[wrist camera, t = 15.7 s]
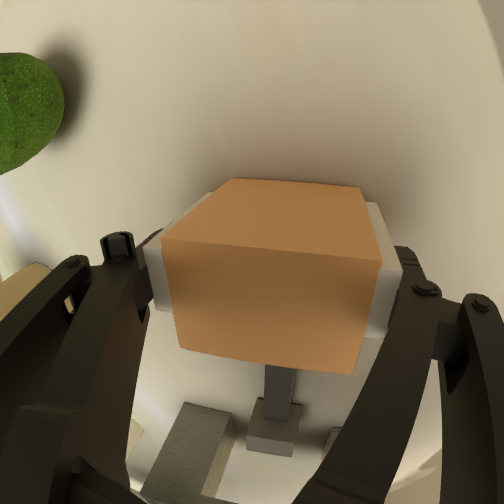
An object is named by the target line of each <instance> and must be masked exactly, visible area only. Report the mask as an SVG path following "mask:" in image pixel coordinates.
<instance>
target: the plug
mask: <svg viewBox="0 0 504 504" xmlns="http://www.w3.org/2000/svg"><path fill="white" fill-rule="evenodd" d="M160 239H161V246H162V253H163V259H164V265H165V271H166V277H167V283H168V288H169V293H170V298H171V303H172V308H173V316H174V321H175V326H176V330H177V335H178V340H179V345H180V348H183V349H188V350H192V351H197V352H201V353H206V354H211V355H216V356H221V357H226V358H232V359H237V360H243V361H249V362H255V363H261V364H265V388H264V400H262V399H257V400H256V404H255V407H254V410H253V414H252V417H251V420H250V424H249V427H248V430H247V433H246V446H247V450H250V451H255V452H261V453H267V454H273V455H279V456H286V457H292V453H293V449H294V445H295V440H296V435H297V430H298V424H299V419H300V413H301V407H302V405H296V404H291V398H292V391H293V384H294V377H295V370H296V369H303V370H312V371H321V372H330V373H341V374H352V373H353V370H354V367H355V364H356V361H357V358H358V354H359V351H360V348H361V344H362V341H363V338H364V333H365V330H366V326H367V322H368V318H369V313H370V309H371V305H372V301H373V296H374V292H375V287H376V282H377V277H378V272H379V268H380V269H381V266H382V257H381V253H380V250H379V246H378V243H377V239H376V236H375V232H374V229H373V226H372V223H371V219H370V216H369V213H368V210H367V207H366V204H365V201H364V198H363V195H362V192H361V189H360V188H358V187H349V186H339V185H329V184H318V183H306V182H293V181H278V180H262V179H243V178H230V179H229V180H228V181H227V182H226V183H224V184H223V185H222V186H221V187H219V188H218V189H217V190H216V191H215V192H213V193H212V194H211V195H210V196H209V197H207V198H206V199H205V200H204V201H203V202H201V203H200V204H199V205H198V206H197V207H195V208H194V209H193V210H192V211H191V212H190V213H188V214H187V215H186V216H185V217H184V218H183V219H182V220H180V221H179V222H178V223H177V224H176V225H175V226H174V227H172V228H171V229H170V230H169V231H168V232H167V233H166V234H164V235H163V236H162V237H161V238H160Z"/></svg>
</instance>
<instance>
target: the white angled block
mask: <svg viewBox="0 0 504 504" xmlns="http://www.w3.org/2000/svg"><path fill="white" fill-rule="evenodd" d="M143 430H144V429H143V428H142V427H141V426H140V425H138V424H137V423H136V422H135V421H134V420H132V419H131V421H130V428H129V435H128V443H127V452H126V461H127V459H128V458H129V456H130V454H131V452H132V450H133V448H134V447H135V445H136V443H137V441H138V439H139V437H140V436H141V434H142V432H143Z"/></svg>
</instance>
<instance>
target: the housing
mask: <svg viewBox="0 0 504 504" xmlns="http://www.w3.org/2000/svg"><path fill="white" fill-rule="evenodd" d="M341 429H342V428H338V427H332V429H331V431H330V434H329V437H328V440H327V442H326V445H325V448H324V450H323V454H322V461H323V460H324V458H325V456H326V455H327V453H328V451H329V450H330V448H331V446H332V445H333V443H334V441H335V439H336V438H337V436H338V434H339V432H340V430H341ZM234 441H235V437H234V431H233V424H232V417H231V413H229V412H224V411H219V410H215V409H210V408H206V407H202V406H198V405H194V404H190V403H186V402H184V404H183V406H182V408H181V410H180V412H179V414H178V416H177V418H176V420H175V422H174V424H173V426H172V428H171V430H170V432H169V434H168V436H167V438H166V441H165V443H164V445H163V447H162V449H161V451H160V453H159V455H158V457H157V459H156V461H155V463H154V465H153V467H152V469H151V471H150V473H149V475H148V477H147V479H146V481H145V483H144V485H143V487H142V489H141V491H140V493H139V494H140V495H141V496H142V497H144V498H145V499H146V500H147V501H148V502H149V503H150V504H237V503H233V502H228V501H224V500H220V499H216V498H215V495H216V492H217V489H218V487H219V484H220V481H221V478H222V475H223V473H224V470H225V467H226V464H227V461H228V458H229V455H230V452H231V449H232V447H233V444H234ZM321 463H322V462H321Z"/></svg>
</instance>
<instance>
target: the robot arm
mask: <svg viewBox="0 0 504 504" xmlns="http://www.w3.org/2000/svg"><path fill="white" fill-rule="evenodd" d="M212 193H213V192H208V193H207V194H205V195H204V196H203V197H202V198H200V199H199V200H198V201H197V202H195V203H194V204H193V205H192V206H190V207H189V208H188V209H187V210H186V211H184V212H183V213H182V214H181V215H180V216H178V217H177V218H176V219H175V220H174V221H172V222H171V223H170V224H169V225H168V226H166V227H165V228H162V229H160V230H158V231H156V232H154V233H152V234H151V235H150V236H149V237H148V238H147V239H145V240H144V241H143V243H141V244H139V245H138V246H137V247H136V248H135V244H134V239H133V234H132V233H130V232H126V231H125V232H115V233H112V234H109V235H106V236H105V237H103V238H102V239H101V240H100V244H101V248H102V252H103V256H104V262H103V264H102V265H100V266H90V263H89V260H88V257H87V256H84V255H74V256H70V257H69V258H67V259H65V260H64V261H62V262H61V263H60V264H59V265H58V266H57V267H56V268H54V269H53V270H52V271H51V272H50V273H49V274H48V275H47V276H46V277H45V278H44V279H43V280H41V281H40V282H39V283H38V284H37V285H36V286H35V287H34V288H33V289H32V290H31V291H30V292H29V293H28V294H27V295H26V296H25V297H24V298H23V299H22V300H21V301H20V302H19V303H18V304H17V305H16V306H15V307H14V308H13V309H12V310H11V311H10V312H9V313H8V314H7V315H6V316H5V317H4V318H3V319H2V320H1V321H0V504H147V503H145V502H144V501H142V500H141V499H140V498H138V497H137V496H136V495H134V494H133V493H132V492H130V480H129V476H128V473H127V469H126V452H127V443H128V435H129V428H130V421H131V414H132V407H133V401H134V395H135V388H136V383H137V377H138V371H139V366H140V360H141V355H142V350H143V345H144V340H145V335H146V331H147V326H148V321H149V317H150V309H149V306H148V303H149V302H150V301H151V300H152V299H154V303H155V307H156V310H160V311H165V312H170V313H173V308H172V303H171V298H170V293H169V288H168V283H167V277H166V271H165V265H164V259H163V253H162V246H161V239H160V238H161V237H162V236H163V235H164V234H166V233H167V232H168V231H169V230H170V229H171V228H172V227H174V226H175V225H176V224H177V223H178V222H179V221H180V220H182V219H183V218H184V217H185V216H186V215H187V214H188V213H190V212H191V211H192V210H193V209H194V208H195V207H197V206H198V205H199V204H200V203H201V202H203V201H204V200H205V199H206V198H207V197H209V196H210V195H211V194H212ZM365 204H366V207H367V210H368V213H369V216H370V219H371V223H372V226H373V229H374V232H375V236H376V239H377V243H378V246H379V250H380V253H381V257H382V266H381V269H380V268H379V272H378V277H377V282H376V287H375V292H374V296H373V301H372V305H371V309H370V313H369V318H368V322H367V326H366V330H365V333H364V337H366V338H381V339H384V341H383V343H382V345H381V348H380V350H379V352H378V355H377V357H376V359H375V362H374V364H373V366H372V368H371V371H370V373H369V375H368V377H367V379H366V382H365V384H364V386H363V388H362V390H361V392H360V394H359V396H358V398H357V400H356V402H355V404H354V406H353V408H352V410H351V412H350V414H349V416H348V418H347V419H346V421H345V423H344V425H343V427H342V429H341V430H340V432H339V434H338V436H337V438H336V439H335V441H334V443H333V445H332V446H331V448H330V450H329V451H328V453H327V455H326V456H325V458H324V460H323V461H322V463H321V465H320V466H319V468H318V469H317V471H316V472H315V474H314V475H313V477H312V478H311V479H310V480H309V481H308V482H307V483H306V484H305V486H304V487H303V488H302V490H301V491H300V493H299V494H298V495H297V497H296V498H295V500H294V501H293V502H292V504H384V501H385V498H386V495H387V493H388V491H389V488H390V486H391V484H392V482H393V479H394V477H395V475H396V472H397V470H398V467H399V465H400V462H401V460H402V457H403V454H404V452H405V449H406V446H407V443H408V441H409V438H410V435H411V432H412V429H413V426H414V422H415V419H416V416H417V413H418V409H419V406H420V402H421V399H422V395H423V391H424V388H425V384H426V380H427V376H428V371H429V367H430V363H431V359H434V360H438V370H439V380H440V392H441V408H442V477H441V492H440V503H439V504H504V323H503V320H502V318H501V315H500V313H499V311H498V308H497V306H496V305H495V304H494V302H493V301H492V300H490V299H489V298H488V297H487V296H485V295H482V294H477V293H470V294H467V295H466V296H465V297H464V299H463V301H462V304H460V303H456V302H453V301H449V300H447V299H444V298H442V292H441V289H440V288H439V287H438V286H437V285H436V284H434V283H433V282H431V281H428V280H427V279H426V277H425V275H424V272H423V270H422V268H421V266H420V263H419V261H418V259H417V257H416V255H415V253H414V252H413V251H412V250H411V249H409V248H408V247H403V246H394V245H393V243H392V240H391V237H390V235H389V232H388V230H387V227H386V225H385V222H384V220H383V217H382V215H381V212H380V210H379V208H378V205H377V203H374V202H365ZM68 297H69V299H70V302H71V304H72V307H73V310H72V311H71V312H70V313H69V311H68V310H67V307H66V304H65V302H64V301H65V300H66V299H67V298H68ZM387 329H388V331H387ZM386 332H387V333H386ZM385 335H386V336H385Z"/></svg>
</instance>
